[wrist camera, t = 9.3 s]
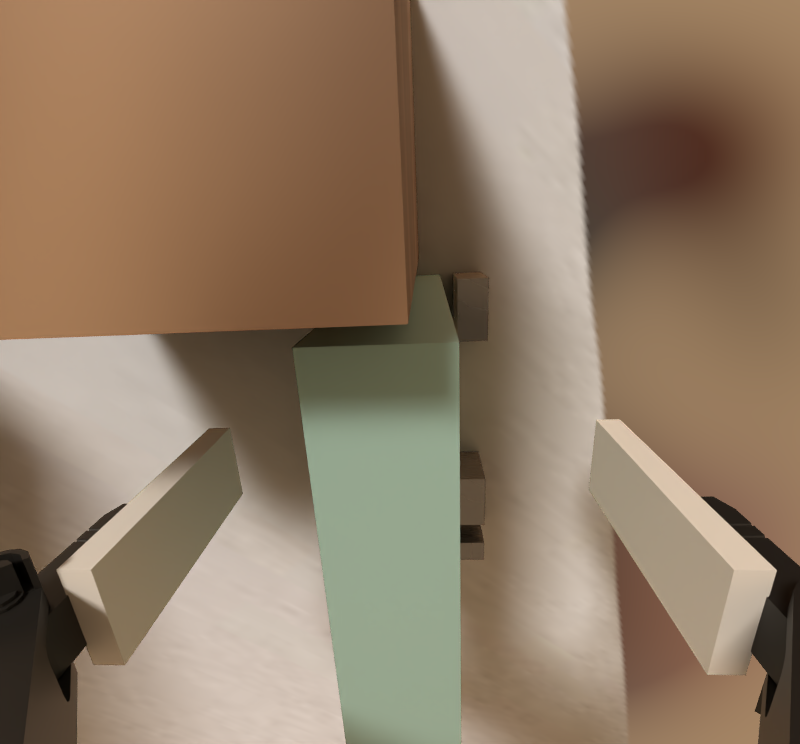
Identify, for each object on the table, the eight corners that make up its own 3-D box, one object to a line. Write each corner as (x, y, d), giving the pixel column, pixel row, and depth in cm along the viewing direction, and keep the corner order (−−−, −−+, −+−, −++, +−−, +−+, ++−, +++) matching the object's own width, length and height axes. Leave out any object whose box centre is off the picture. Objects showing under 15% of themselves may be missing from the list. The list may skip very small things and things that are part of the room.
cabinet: (116, 271, 19) (-548, 361, 6) (48, 7, 16) (-1651, -1005, 3) (418, 257, 18) (408, 324, 5) (409, -26, 15) (319, -1715, 2)
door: (387, 494, 23) (348, 761, 11) (373, 277, 19) (292, 347, 8) (443, 493, 22) (461, 766, 11) (439, 274, 19) (459, 342, 7)
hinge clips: (361, 526, 23) (354, 559, 21) (337, 278, 19) (325, 285, 17) (477, 525, 23) (483, 559, 20) (480, 271, 18) (488, 277, 16)
